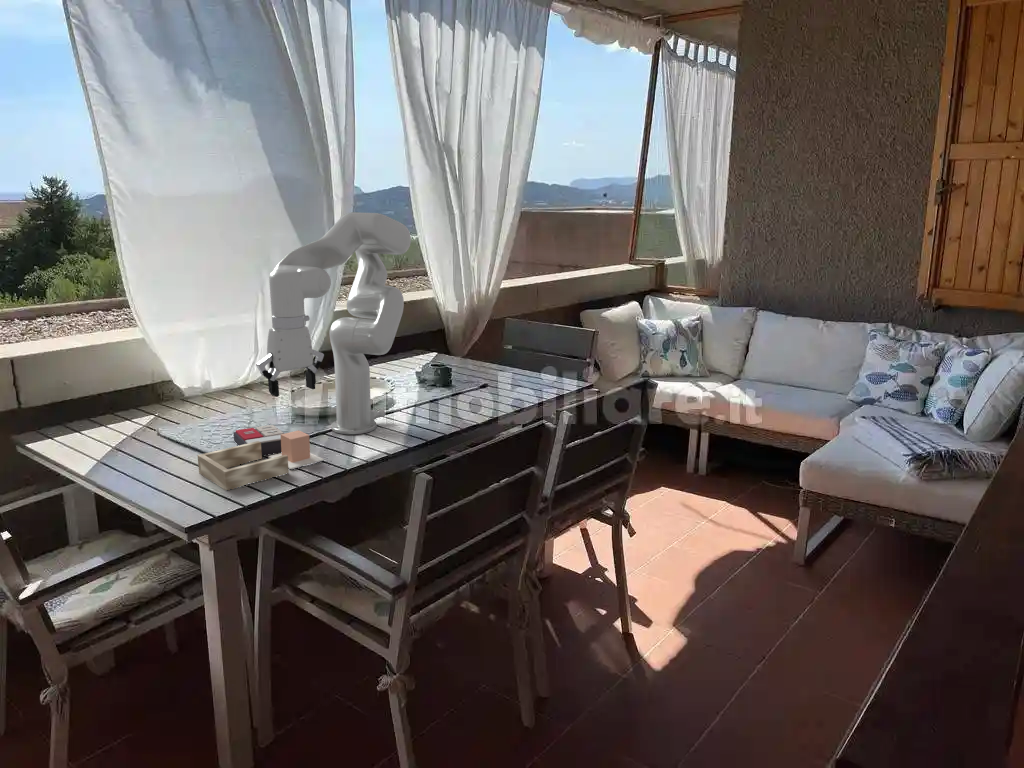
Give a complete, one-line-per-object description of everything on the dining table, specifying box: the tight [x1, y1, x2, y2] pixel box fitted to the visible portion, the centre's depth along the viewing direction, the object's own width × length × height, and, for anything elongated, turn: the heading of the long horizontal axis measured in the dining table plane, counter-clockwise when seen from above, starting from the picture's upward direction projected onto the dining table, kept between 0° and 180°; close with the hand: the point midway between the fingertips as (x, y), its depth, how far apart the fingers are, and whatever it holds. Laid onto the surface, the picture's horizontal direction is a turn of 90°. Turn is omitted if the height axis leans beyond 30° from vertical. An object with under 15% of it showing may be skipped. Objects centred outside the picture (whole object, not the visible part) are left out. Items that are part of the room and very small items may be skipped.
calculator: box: [233, 424, 285, 456], centre depth 192 cm, size 11×4×15 cm
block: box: [281, 430, 311, 463], centre depth 182 cm, size 5×5×6 cm
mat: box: [267, 452, 325, 470], centre depth 183 cm, size 9×11×1 cm
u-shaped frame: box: [197, 441, 290, 491], centre depth 173 cm, size 15×14×4 cm
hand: (293, 391), depth 179 cm, fingers open, 9 cm apart
